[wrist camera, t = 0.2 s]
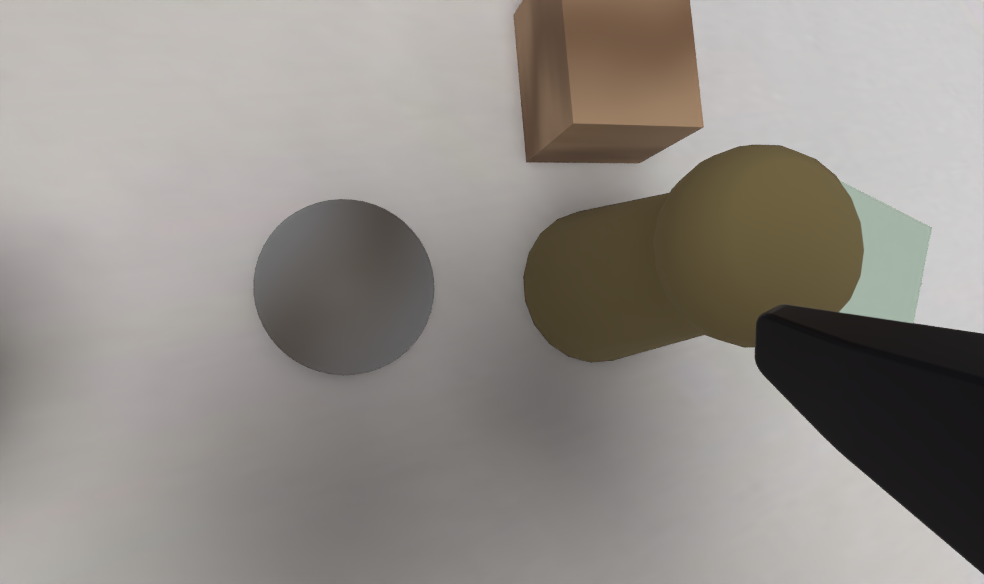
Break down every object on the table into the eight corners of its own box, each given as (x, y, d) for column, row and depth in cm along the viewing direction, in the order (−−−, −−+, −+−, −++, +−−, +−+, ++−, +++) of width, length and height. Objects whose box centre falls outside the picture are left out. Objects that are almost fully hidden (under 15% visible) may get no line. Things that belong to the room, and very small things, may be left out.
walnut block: (637, 164, 27) (703, 127, 22) (525, 163, 25) (573, 123, 21) (623, 25, 27) (685, -37, 23) (512, 16, 26) (557, -52, 21)
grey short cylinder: (435, 292, 23) (467, 277, 19) (345, 401, 22) (358, 411, 18) (328, 200, 23) (337, 163, 18) (228, 308, 21) (212, 295, 17)
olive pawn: (615, 185, 26) (831, 69, 16) (686, 313, 26) (943, 284, 16) (494, 255, 24) (648, 176, 14) (572, 392, 25) (779, 416, 14)
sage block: (849, 244, 30) (931, 227, 26) (827, 346, 29) (909, 345, 25) (763, 202, 28) (836, 178, 25) (737, 308, 27) (808, 300, 24)
